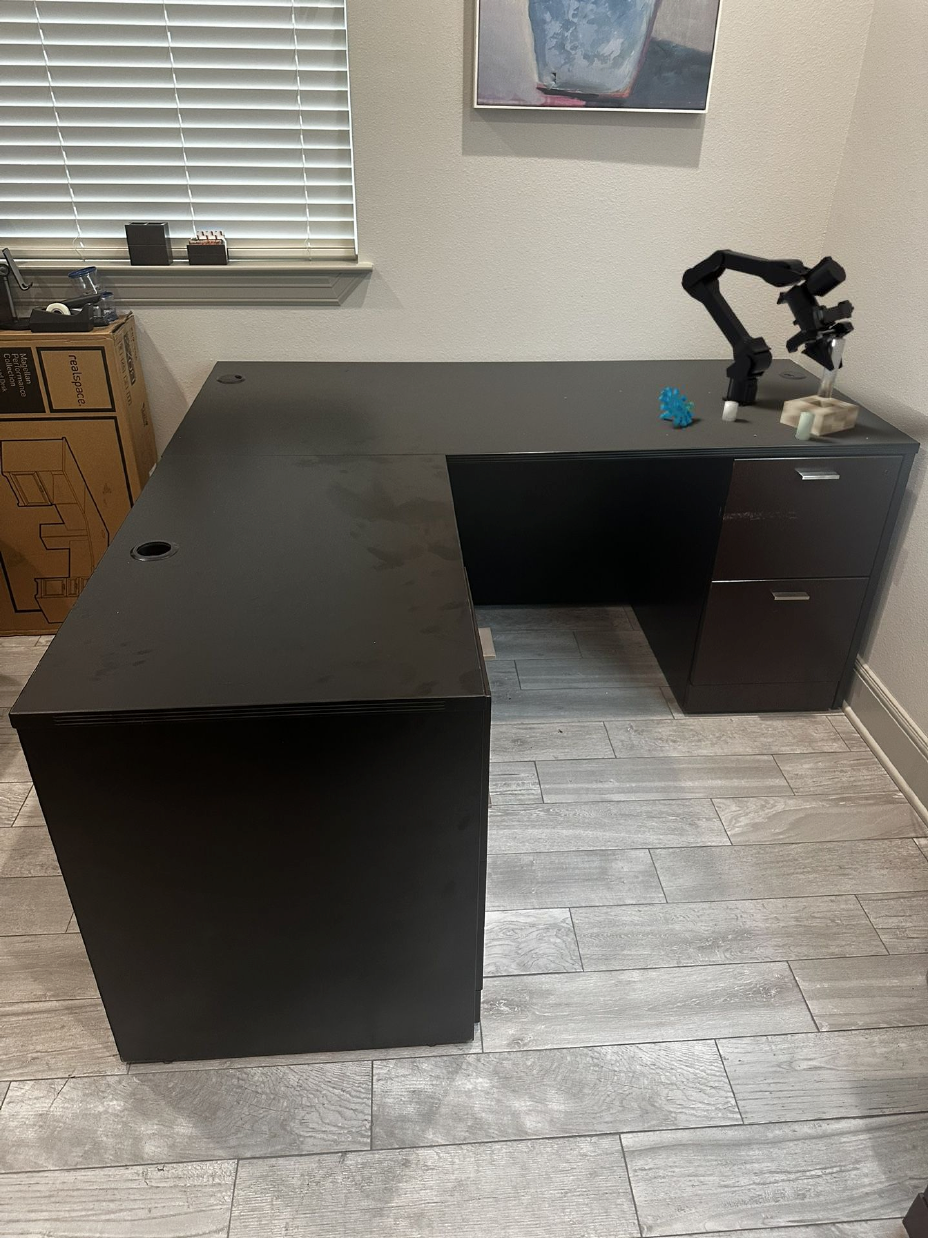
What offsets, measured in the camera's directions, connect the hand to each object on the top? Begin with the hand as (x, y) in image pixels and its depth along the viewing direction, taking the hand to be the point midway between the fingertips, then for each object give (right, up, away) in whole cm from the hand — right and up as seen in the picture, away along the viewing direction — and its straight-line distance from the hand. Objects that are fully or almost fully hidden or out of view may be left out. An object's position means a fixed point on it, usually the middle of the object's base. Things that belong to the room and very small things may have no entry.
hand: (836, 369), depth 190 cm
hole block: (-1, -11, +8) cm, 14 cm away
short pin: (-22, -9, +10) cm, 25 cm away
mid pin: (-8, -16, 0) cm, 18 cm away
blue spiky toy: (-35, -11, +7) cm, 37 cm away
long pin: (-1, -5, +4) cm, 7 cm away
